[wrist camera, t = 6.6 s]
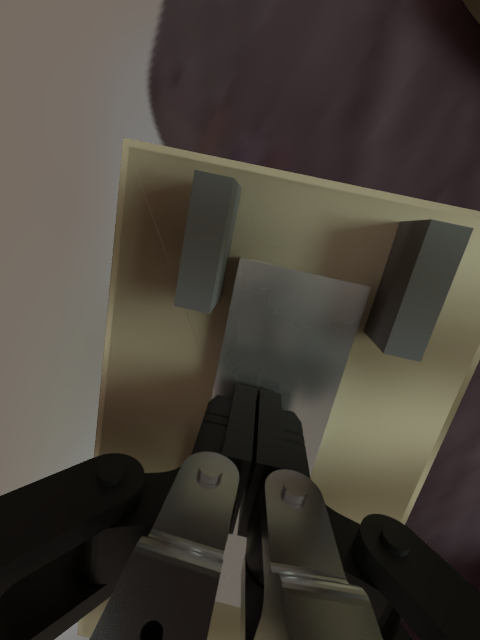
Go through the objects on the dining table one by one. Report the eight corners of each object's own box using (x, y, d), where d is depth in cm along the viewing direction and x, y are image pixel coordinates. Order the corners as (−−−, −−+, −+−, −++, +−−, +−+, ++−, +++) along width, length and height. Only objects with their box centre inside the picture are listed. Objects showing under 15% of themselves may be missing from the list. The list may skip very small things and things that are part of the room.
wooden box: (309, 559, 22) (331, 768, 14) (135, 515, 23) (50, 689, 14) (428, 226, 16) (610, 222, 7) (184, 175, 16) (87, 115, 8)
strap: (265, 598, 14) (265, 614, 13) (176, 575, 14) (172, 589, 14) (365, 284, 10) (371, 286, 10) (241, 256, 10) (240, 257, 10)
